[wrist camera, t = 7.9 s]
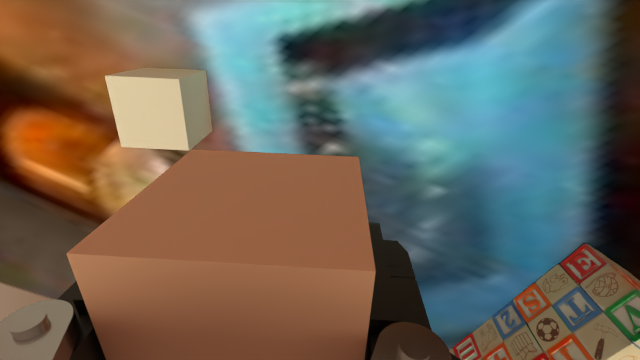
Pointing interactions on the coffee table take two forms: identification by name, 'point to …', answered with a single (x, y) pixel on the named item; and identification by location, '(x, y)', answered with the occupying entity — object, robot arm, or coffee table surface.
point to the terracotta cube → (234, 262)
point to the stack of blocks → (565, 316)
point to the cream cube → (160, 107)
